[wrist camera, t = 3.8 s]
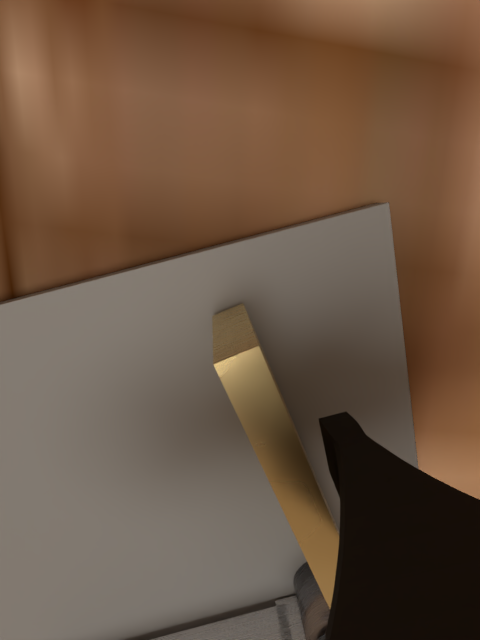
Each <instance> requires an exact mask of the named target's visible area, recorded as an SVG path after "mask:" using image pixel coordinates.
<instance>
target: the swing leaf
mask: <svg viewBox="0 0 480 640" xmlns="http://www.w3.org/2000/svg"><path fill="white" fill-rule="evenodd" d="M212 329H213V365H214V367H215V369H216V371H217V373H218V376H219V378H220V380H221V382H222V384H223V386H224V388H225V390H226V392H227V394H228V397H229V399H230V401H231V403H232V405H233V407H234V409H235V411H236V413H237V415H238V418H239V420H240V422H241V424H242V426H243V428H244V430H245V432H246V434H247V436H248V439H249V441H250V443H251V445H252V447H253V449H254V451H255V453H256V455H257V457H258V460H259V462H260V464H261V466H262V468H263V470H264V472H265V474H266V476H267V478H268V481H269V483H270V485H271V487H272V489H273V491H274V493H275V495H276V497H277V499H278V501H279V504H280V506H281V508H282V510H283V512H284V514H285V516H286V518H287V520H288V522H289V525H290V527H291V529H292V531H293V533H294V535H295V537H296V539H297V541H298V543H299V546H300V548H301V550H302V552H303V554H304V556H305V558H306V560H307V562H308V564H309V567H310V569H311V571H312V573H313V575H314V577H315V579H316V581H317V583H318V585H319V588H320V590H321V592H322V594H323V596H324V598H325V600H326V602H327V604H328V606H329V608H331V602H332V597H333V591H334V583H335V575H336V567H337V558H338V548H339V530H338V528H337V525H336V523H335V521H334V518H333V516H332V514H331V511H330V509H329V506H328V504H327V502H326V499H325V497H324V494H323V492H322V490H321V487H320V485H319V483H318V480H317V478H316V475H315V473H314V471H313V468H312V466H311V463H310V461H309V459H308V456H307V454H306V452H305V449H304V447H303V444H302V442H301V440H300V437H299V435H298V432H297V430H296V428H295V425H294V423H293V421H292V418H291V416H290V413H289V411H288V409H287V406H286V404H285V401H284V399H283V397H282V394H281V392H280V390H279V387H278V385H277V382H276V380H275V378H274V375H273V373H272V370H271V368H270V366H269V363H268V361H267V359H266V356H265V354H264V351H263V349H262V347H261V344H260V342H259V339H258V337H257V335H256V332H255V330H254V328H253V325H252V323H251V320H250V318H249V316H248V313H247V311H246V309H245V306H244V304H243V303H242V304H240V305H237V306H235V307H233V308H230V309H228V310H225V311H223V312H221V313H218V314H216V315H213V316H212ZM325 635H326V633H325V634H324V635H322V636H321V637H320V638H319V639H318V640H325Z"/></svg>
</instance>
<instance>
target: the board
mask: <svg viewBox="0 0 480 640" xmlns="http://www.w3.org/2000/svg"><path fill="white" fill-rule="evenodd" d="M242 303H243V304H244V306H245V309H246V311H247V313H248V316H249V318H250V320H251V323H252V325H253V328H254V330H255V332H256V335H257V337H258V339H259V342H260V344H261V347H262V349H263V351H264V354H265V356H266V359H267V361H268V363H269V366H270V368H271V370H272V373H273V375H274V378H275V380H276V382H277V385H278V387H279V390H280V392H281V394H282V397H283V399H284V401H285V404H286V406H287V409H288V411H289V413H290V416H291V418H292V421H293V423H294V425H295V428H296V430H297V432H298V435H299V437H300V440H301V442H302V444H303V447H304V449H305V452H306V454H307V456H308V459H309V461H310V463H311V466H312V468H313V471H314V473H315V475H316V478H317V480H318V483H319V485H320V487H321V490H322V492H323V494H324V497H325V499H326V502H327V504H328V506H329V509H330V511H331V514H332V516H333V518H334V521H335V523H336V525H337V528H338V530H339V531H340V497H339V495H338V492H337V490H336V487H335V485H334V482H333V480H332V477H331V475H330V472H329V468H328V463H327V458H326V453H325V448H324V443H323V438H322V434H321V429H320V424H319V418H323V417H326V416H330V415H334V414H338V413H342V412H347V413H349V414H350V415H351V416H352V417H353V418H354V419H355V420H356V421H357V422H358V423H359V425H360V426H361V428H362V429H363V431H364V433H365V434H366V435H367V436H368V437H370V438H371V439H373V440H374V441H375V442H377V443H378V444H380V445H381V446H383V447H384V448H386V449H387V450H389V451H390V452H392V453H393V454H395V455H396V456H398V457H399V458H401V459H402V460H404V461H406V462H407V463H409V464H411V465H412V466H414V467H416V468H417V469H418V460H417V451H416V442H415V433H414V424H413V415H412V406H411V397H410V388H409V379H408V370H407V361H406V352H405V343H404V334H403V325H402V316H401V307H400V298H399V289H398V280H397V271H396V262H395V253H394V244H393V235H392V226H391V217H390V208H389V202H388V203H375V204H371V205H367V206H364V207H360V208H356V209H352V210H348V211H345V212H341V213H337V214H333V215H329V216H326V217H322V218H318V219H314V220H311V221H307V222H303V223H299V224H295V225H292V226H288V227H284V228H280V229H276V230H273V231H269V232H265V233H261V234H257V235H254V236H250V237H246V238H242V239H238V240H235V241H231V242H227V243H223V244H219V245H216V246H212V247H208V248H204V249H200V250H197V251H193V252H189V253H185V254H181V255H178V256H174V257H170V258H166V259H162V260H159V261H155V262H151V263H147V264H143V265H140V266H136V267H132V268H128V269H125V270H121V271H117V272H113V273H109V274H106V275H102V276H98V277H94V278H90V279H87V280H83V281H79V282H75V283H71V284H68V285H64V286H60V287H56V288H52V289H49V290H45V291H41V292H37V293H33V294H30V295H26V296H22V297H18V298H14V299H11V300H7V301H3V302H0V640H151V639H155V638H158V637H162V636H166V635H170V634H173V633H177V632H181V631H184V630H188V629H192V628H196V627H199V626H203V625H207V624H211V623H214V622H218V621H222V620H226V619H229V618H233V617H237V616H241V615H244V614H248V613H252V612H256V611H259V610H263V609H267V608H270V607H274V606H276V603H275V601H276V600H280V599H284V598H288V597H291V596H295V595H296V594H295V589H294V585H293V579H294V575H295V573H296V571H297V570H298V569H299V568H300V567H301V566H302V565H303V564H304V563H306V562H307V560H306V558H305V556H304V554H303V552H302V550H301V548H300V546H299V543H298V541H297V539H296V537H295V535H294V533H293V531H292V529H291V527H290V525H289V522H288V520H287V518H286V516H285V514H284V512H283V510H282V508H281V506H280V504H279V501H278V499H277V497H276V495H275V493H274V491H273V489H272V487H271V485H270V483H269V481H268V478H267V476H266V474H265V472H264V470H263V468H262V466H261V464H260V462H259V460H258V457H257V455H256V453H255V451H254V449H253V447H252V445H251V443H250V441H249V439H248V436H247V434H246V432H245V430H244V428H243V426H242V424H241V422H240V420H239V418H238V415H237V413H236V411H235V409H234V407H233V405H232V403H231V401H230V399H229V397H228V394H227V392H226V390H225V388H224V386H223V384H222V382H221V380H220V378H219V376H218V373H217V371H216V369H215V367H214V365H213V329H212V316H213V315H216V314H218V313H221V312H223V311H225V310H228V309H230V308H233V307H235V306H237V305H240V304H242Z"/></svg>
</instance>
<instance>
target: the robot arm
mask: <svg viewBox="0 0 480 640" xmlns="http://www.w3.org/2000/svg"><path fill="white" fill-rule="evenodd" d="M319 424H320V429H321V434H322V438H323V443H324V448H325V453H326V458H327V463H328V468H329V472H330V475H331V477H332V480H333V482H334V485H335V487H336V490H337V492H338V495H339V497H340V531H339V548H338V558H337V567H336V575H335V583H334V591H333V597H332V602H331V608H330V613H329V619H328V624H327V629H326V635H325V640H480V500H479V499H477V498H474V497H472V496H470V495H468V494H465V493H463V492H461V491H459V490H457V489H455V488H453V487H451V486H449V485H447V484H445V483H443V482H441V481H439V480H437V479H435V478H433V477H431V476H430V475H428V474H426V473H424V472H422V471H421V470H419V469H417V468H416V467H414V466H412V465H411V464H409V463H407V462H406V461H404V460H402V459H401V458H399V457H398V456H396V455H395V454H393V453H392V452H390V451H389V450H387V449H386V448H384V447H383V446H381V445H380V444H378V443H377V442H375V441H374V440H373V439H371V438H370V437H368V436H367V435H366V434H365V433H364V431H363V429H362V428H361V426H360V425H359V423H358V422H357V421H356V420H355V419H354V418H353V417H352V416H351V415H350V414H349V413H347V412H342V413H338V414H334V415H330V416H326V417H323V418H319Z"/></svg>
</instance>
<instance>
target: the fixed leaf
mask: <svg viewBox="0 0 480 640" xmlns="http://www.w3.org/2000/svg"><path fill="white" fill-rule="evenodd" d="M293 585H294V589H295V594H296V595H295V596H291V597H288V598H284V599H280V600H276V601H275V603H276V606H274V607H270V608H267V609H263V610H259V611H256V612H252V613H248V614H244V615H241V616H237V617H233V618H229V619H226V620H222V621H218V622H214V623H211V624H207V625H203V626H199V627H196V628H192V629H188V630H184V631H181V632H177V633H173V634H170V635H166V636H162V637H158V638H155V639H151V640H318V639H319V638H320V637H321V636H322V635H324V634H325V633H326V629H327V624H328V619H329V613H330V608H329V606H328V604H327V602H326V600H325V598H324V596H323V594H322V592H321V590H320V588H319V585H318V583H317V581H316V579H315V577H314V575H313V573H312V571H311V569H310V567H309V564H308V562H306V563H304V564H303V565H302V566H301V567H300V568H299V569H298V570H297V571H296V573H295V575H294V579H293Z"/></svg>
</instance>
